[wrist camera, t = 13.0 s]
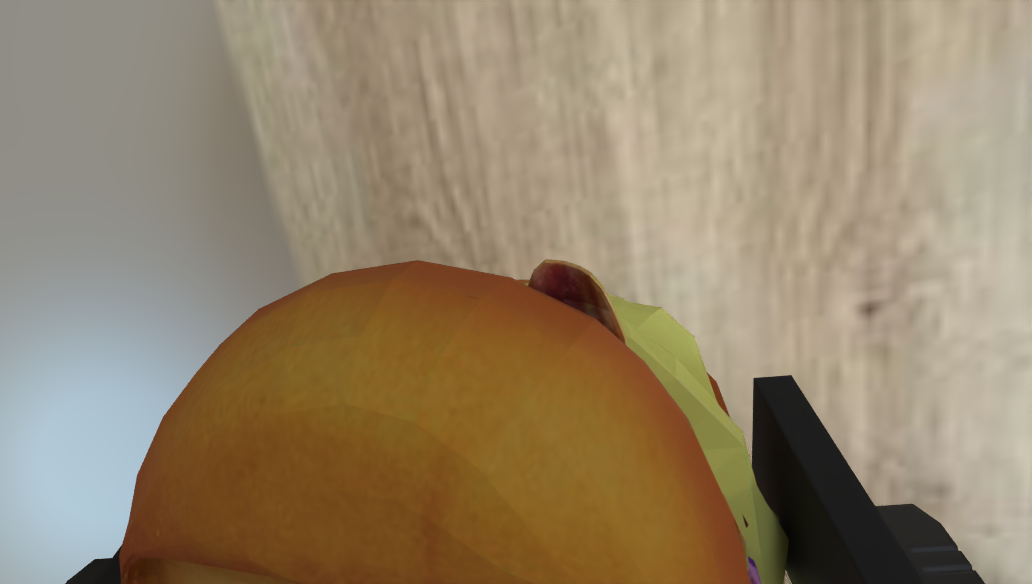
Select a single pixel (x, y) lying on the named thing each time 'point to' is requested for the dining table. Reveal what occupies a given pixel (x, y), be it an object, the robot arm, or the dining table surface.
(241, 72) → the dining table surface
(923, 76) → the dining table surface
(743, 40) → the dining table surface
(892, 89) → the dining table surface
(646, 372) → the cheeseburger
